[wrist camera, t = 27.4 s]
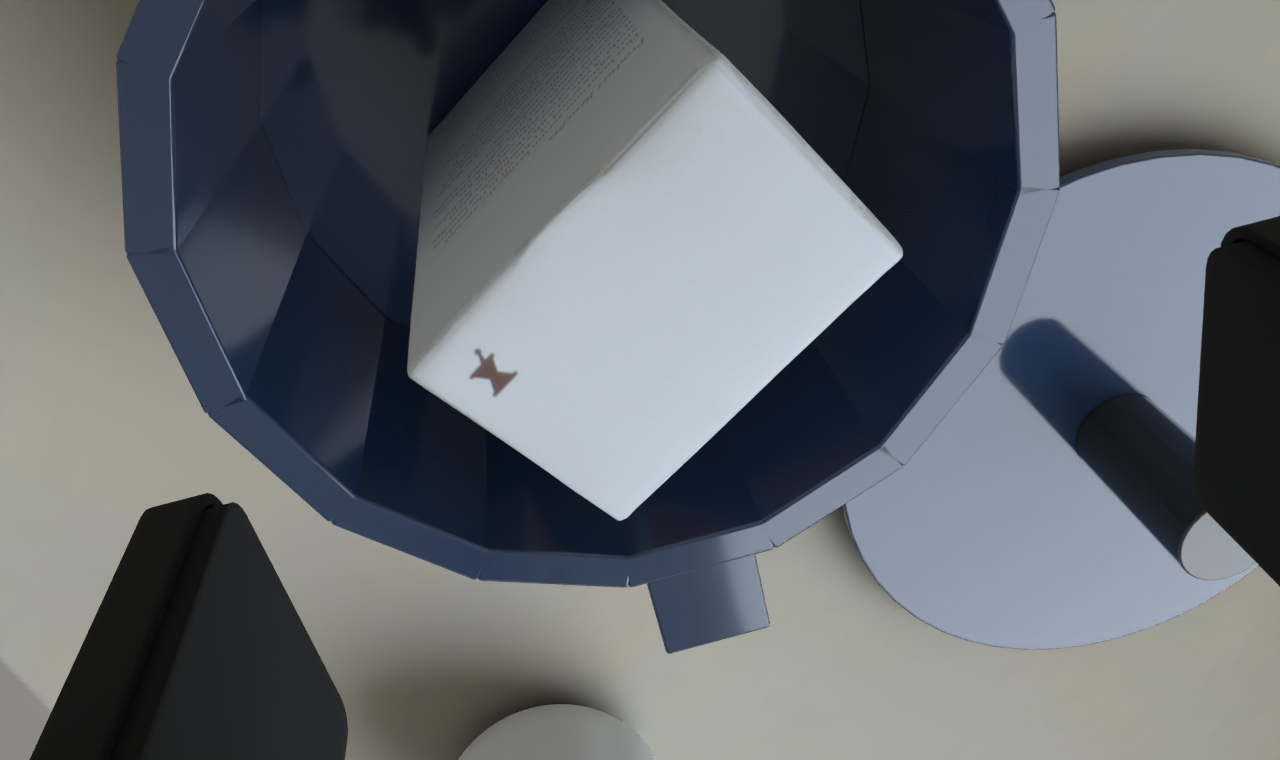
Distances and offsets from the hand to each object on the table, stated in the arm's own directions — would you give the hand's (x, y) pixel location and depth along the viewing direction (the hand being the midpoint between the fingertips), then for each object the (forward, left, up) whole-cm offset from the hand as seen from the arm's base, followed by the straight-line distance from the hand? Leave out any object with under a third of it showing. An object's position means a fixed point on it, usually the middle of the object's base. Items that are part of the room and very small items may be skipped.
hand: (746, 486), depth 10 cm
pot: (0, 0, -17) cm, 17 cm away
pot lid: (-13, +13, -17) cm, 25 cm away
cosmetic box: (0, 0, -17) cm, 17 cm away
